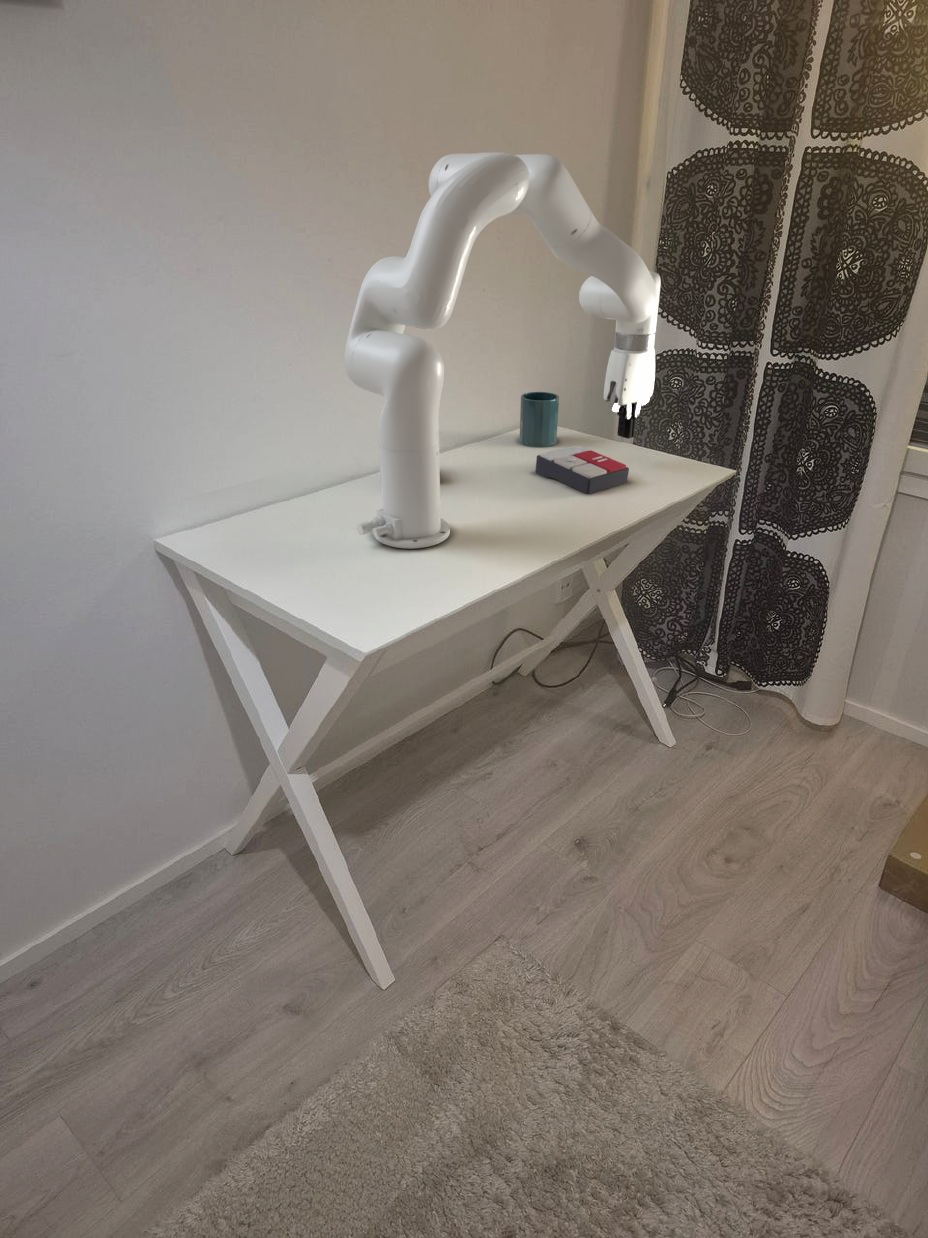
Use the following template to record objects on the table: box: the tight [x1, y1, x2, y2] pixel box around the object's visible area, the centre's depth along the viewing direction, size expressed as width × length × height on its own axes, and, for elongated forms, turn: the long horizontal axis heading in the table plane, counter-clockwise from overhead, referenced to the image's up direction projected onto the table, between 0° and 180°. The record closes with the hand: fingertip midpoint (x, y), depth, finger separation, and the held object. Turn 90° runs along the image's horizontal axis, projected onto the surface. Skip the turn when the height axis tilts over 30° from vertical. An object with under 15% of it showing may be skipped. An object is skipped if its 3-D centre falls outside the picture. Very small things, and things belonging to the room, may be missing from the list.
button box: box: [535, 444, 630, 495], centre depth 157 cm, size 11×4×15 cm
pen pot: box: [519, 391, 560, 448], centre depth 177 cm, size 8×8×10 cm
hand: (625, 436), depth 162 cm, fingers closed
